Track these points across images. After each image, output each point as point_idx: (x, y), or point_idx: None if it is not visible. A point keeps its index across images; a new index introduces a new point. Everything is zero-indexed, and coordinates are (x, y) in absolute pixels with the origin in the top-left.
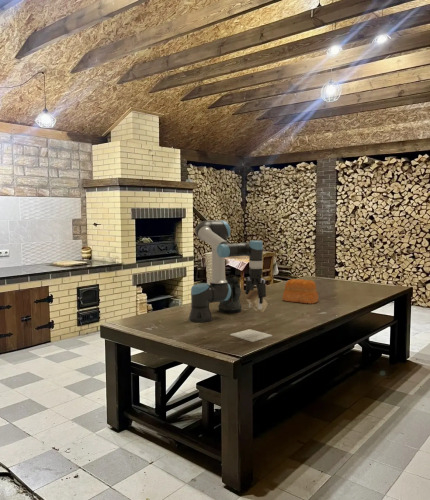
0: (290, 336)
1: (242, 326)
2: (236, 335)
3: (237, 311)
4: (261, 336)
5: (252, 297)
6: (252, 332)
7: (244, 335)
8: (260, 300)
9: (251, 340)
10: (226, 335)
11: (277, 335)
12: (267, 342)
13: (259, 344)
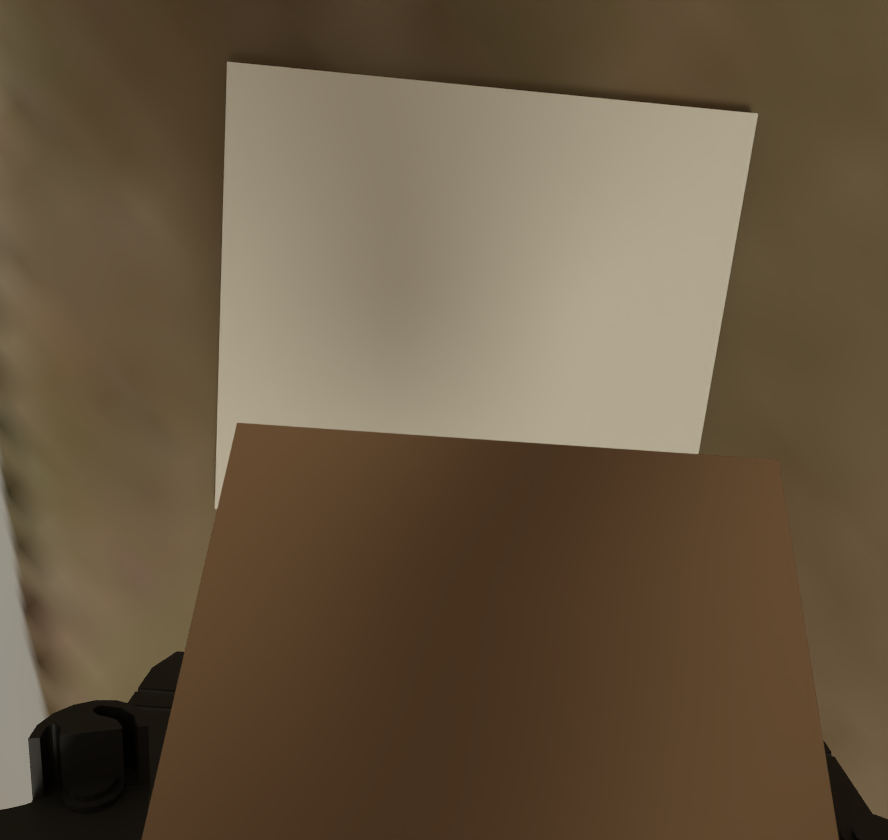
0: (41, 649)
1: (884, 633)
2: (624, 130)
3: None
4: (288, 352)
5: (345, 537)
6: (529, 434)
7: (522, 220)
8: (151, 721)
9: (256, 68)
10: (793, 68)
11: (196, 579)
12: (61, 204)
13: (72, 33)
